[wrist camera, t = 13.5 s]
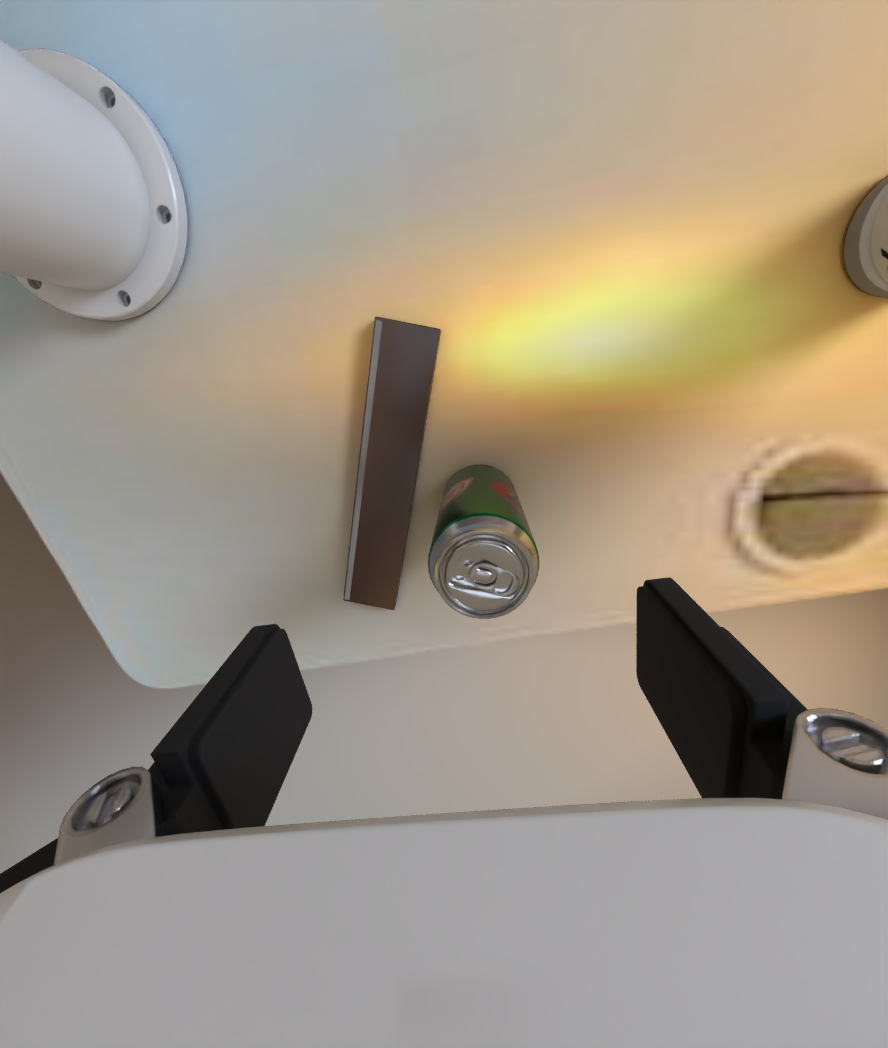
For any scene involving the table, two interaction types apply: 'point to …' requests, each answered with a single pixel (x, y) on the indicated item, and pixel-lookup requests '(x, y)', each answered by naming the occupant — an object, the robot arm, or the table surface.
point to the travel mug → (869, 243)
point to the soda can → (482, 545)
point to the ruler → (389, 458)
